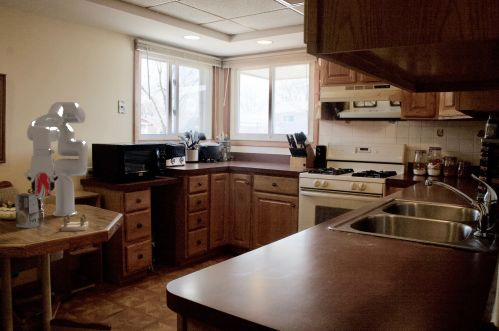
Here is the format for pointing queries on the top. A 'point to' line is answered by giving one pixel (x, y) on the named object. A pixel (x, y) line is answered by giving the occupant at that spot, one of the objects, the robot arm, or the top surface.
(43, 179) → the soda can
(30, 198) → the coffee box
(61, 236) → the top surface
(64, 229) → the peg stand
